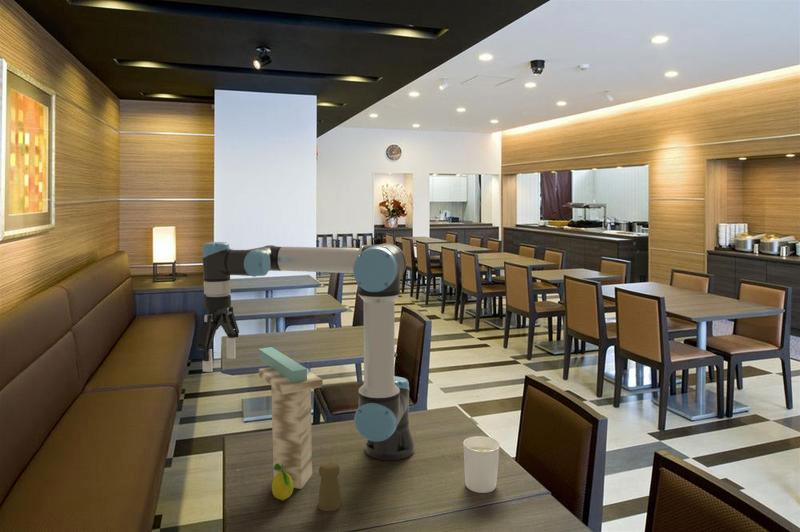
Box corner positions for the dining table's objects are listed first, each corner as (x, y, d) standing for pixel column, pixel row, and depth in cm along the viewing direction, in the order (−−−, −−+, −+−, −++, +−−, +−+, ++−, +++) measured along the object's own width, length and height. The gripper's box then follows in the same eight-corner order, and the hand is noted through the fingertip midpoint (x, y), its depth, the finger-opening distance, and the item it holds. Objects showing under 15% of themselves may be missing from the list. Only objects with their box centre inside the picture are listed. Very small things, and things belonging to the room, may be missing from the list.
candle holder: (501, 480, 157) (502, 438, 156) (495, 497, 148) (496, 453, 147) (466, 474, 160) (467, 433, 159) (458, 491, 151) (459, 448, 150)
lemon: (274, 493, 150) (273, 457, 149) (296, 493, 150) (295, 457, 148) (267, 506, 143) (266, 469, 142) (290, 507, 143) (289, 469, 142)
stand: (298, 460, 168) (296, 362, 165) (324, 486, 153) (323, 379, 150) (261, 470, 162) (258, 369, 159) (284, 498, 147) (282, 387, 144)
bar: (258, 358, 169) (258, 348, 168) (271, 356, 171) (271, 346, 171) (292, 382, 147) (292, 371, 147) (307, 379, 149) (306, 368, 149)
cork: (343, 499, 147) (343, 458, 146) (338, 511, 141) (338, 470, 140) (320, 497, 148) (320, 457, 146) (315, 510, 142) (314, 468, 140)
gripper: (227, 287, 180) (229, 352, 182) (181, 301, 156) (184, 376, 158) (248, 288, 178) (250, 354, 181) (206, 302, 154) (209, 378, 157)
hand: (220, 364), depth 169 cm, fingers open, 13 cm apart
